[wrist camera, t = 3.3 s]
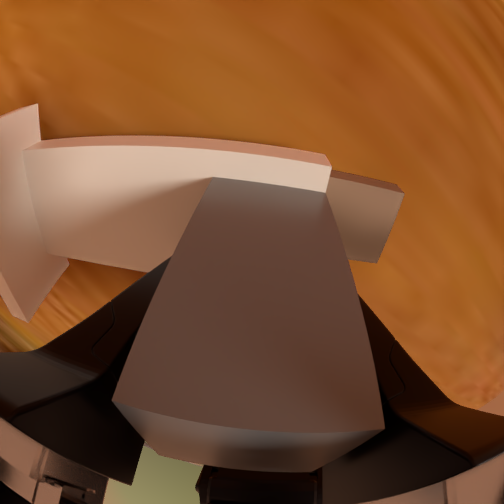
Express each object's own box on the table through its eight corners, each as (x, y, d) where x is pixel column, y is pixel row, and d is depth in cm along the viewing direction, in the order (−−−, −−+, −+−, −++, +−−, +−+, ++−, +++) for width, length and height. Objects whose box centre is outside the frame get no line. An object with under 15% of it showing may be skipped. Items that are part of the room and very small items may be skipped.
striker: (288, 300, 15) (286, 482, 7) (53, 261, 15) (-23, 376, 7) (334, 106, 9) (527, 280, 1) (20, 107, 9) (-126, 199, 1)
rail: (371, 251, 14) (376, 263, 13) (88, 214, 14) (79, 223, 13) (396, 184, 12) (404, 193, 11) (78, 148, 12) (67, 155, 11)
